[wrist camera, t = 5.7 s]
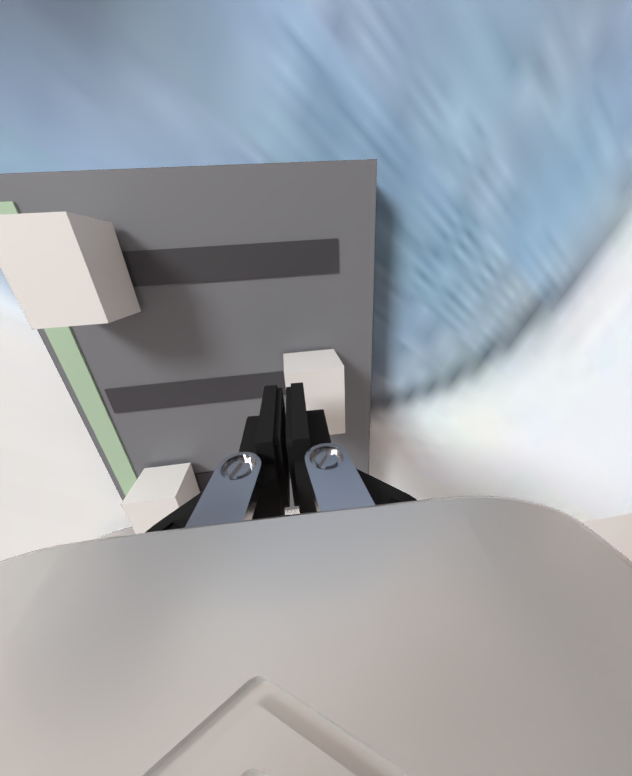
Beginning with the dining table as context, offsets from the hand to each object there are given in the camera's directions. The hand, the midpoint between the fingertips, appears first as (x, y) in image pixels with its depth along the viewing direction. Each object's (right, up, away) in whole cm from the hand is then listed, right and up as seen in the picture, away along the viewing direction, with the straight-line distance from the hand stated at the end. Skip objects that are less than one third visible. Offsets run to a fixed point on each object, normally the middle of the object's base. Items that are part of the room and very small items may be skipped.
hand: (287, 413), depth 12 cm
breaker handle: (+1, +2, +5) cm, 5 cm away
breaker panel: (-4, +2, +7) cm, 8 cm away
